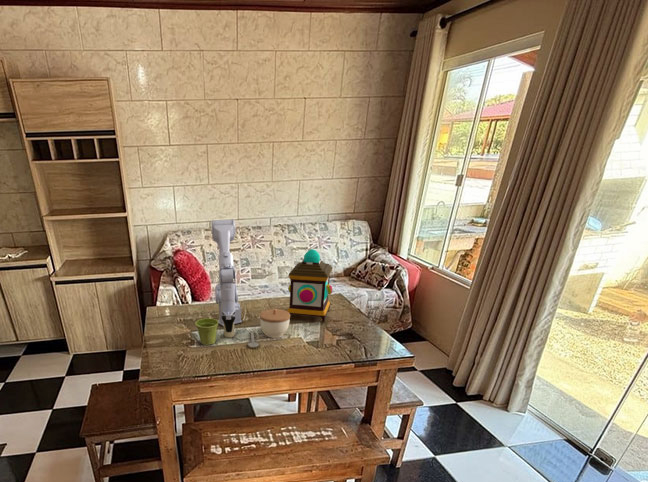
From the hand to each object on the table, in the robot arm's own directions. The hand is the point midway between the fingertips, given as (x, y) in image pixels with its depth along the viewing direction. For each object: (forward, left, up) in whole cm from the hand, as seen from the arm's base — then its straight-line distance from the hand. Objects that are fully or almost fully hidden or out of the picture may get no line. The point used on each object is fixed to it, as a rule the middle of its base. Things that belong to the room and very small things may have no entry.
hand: (229, 329), depth 171 cm
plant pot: (+11, +1, -3) cm, 11 cm away
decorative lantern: (-42, 0, -3) cm, 43 cm away
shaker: (0, 0, -3) cm, 3 cm away
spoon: (-5, +10, -3) cm, 12 cm away
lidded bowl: (-16, +10, -3) cm, 19 cm away
